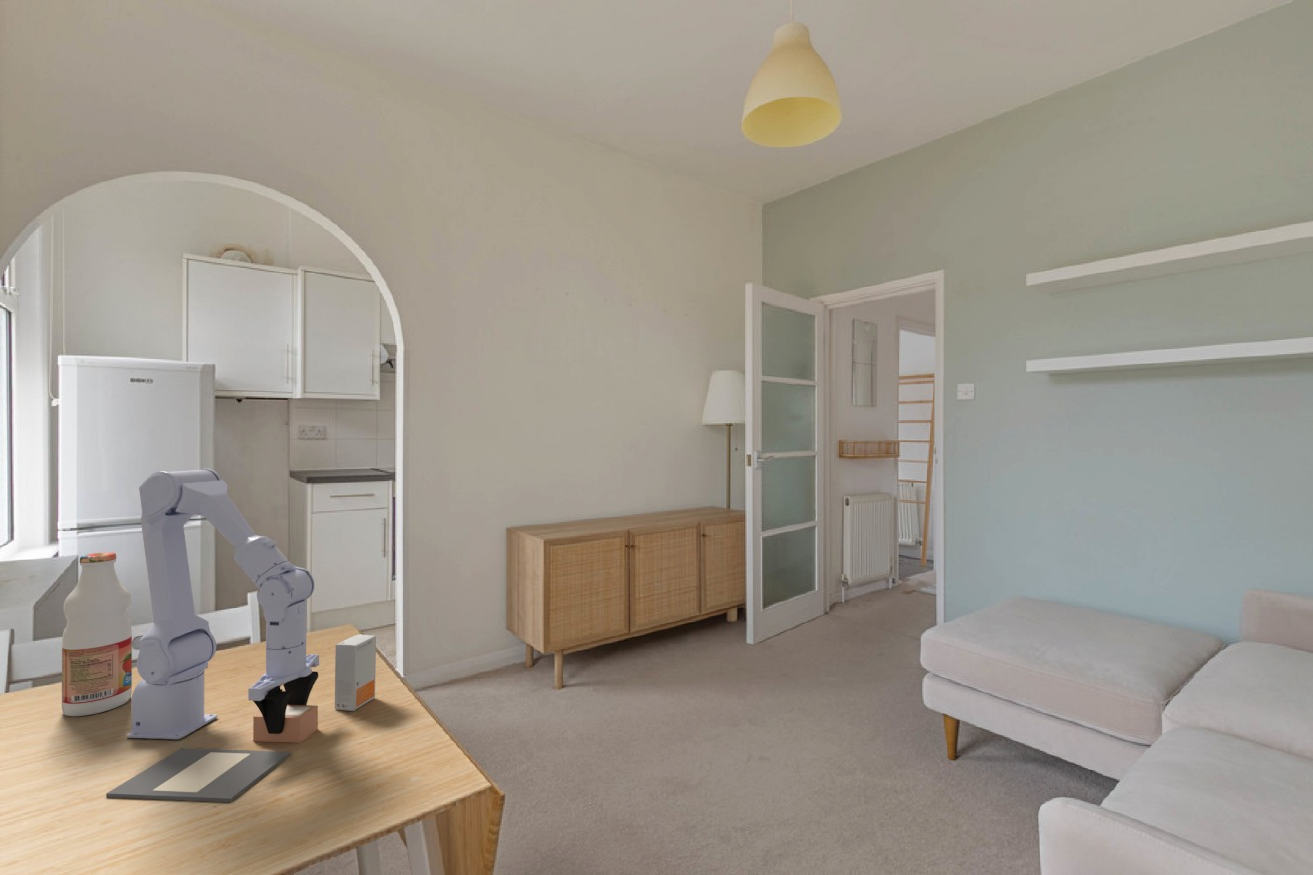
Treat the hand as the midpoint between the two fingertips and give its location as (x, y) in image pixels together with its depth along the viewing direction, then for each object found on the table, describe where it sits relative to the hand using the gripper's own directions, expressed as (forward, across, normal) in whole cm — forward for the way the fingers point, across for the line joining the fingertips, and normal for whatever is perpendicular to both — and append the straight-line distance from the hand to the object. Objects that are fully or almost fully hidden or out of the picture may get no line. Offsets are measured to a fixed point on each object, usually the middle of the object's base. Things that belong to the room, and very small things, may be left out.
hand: (286, 725), depth 99 cm
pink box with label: (+2, 0, 0) cm, 2 cm away
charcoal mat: (+2, -12, +4) cm, 13 cm away
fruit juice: (+2, +8, +42) cm, 43 cm away
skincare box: (+2, +12, -5) cm, 13 cm away
